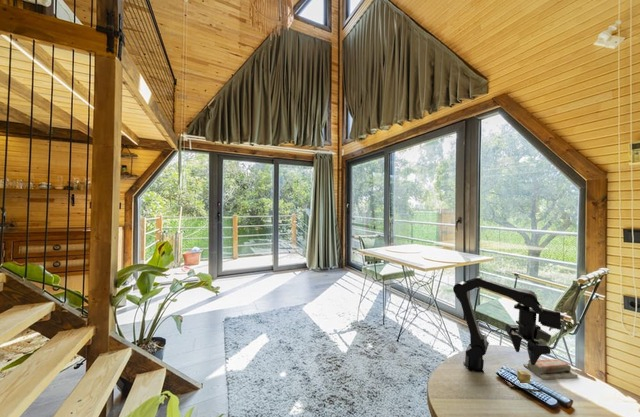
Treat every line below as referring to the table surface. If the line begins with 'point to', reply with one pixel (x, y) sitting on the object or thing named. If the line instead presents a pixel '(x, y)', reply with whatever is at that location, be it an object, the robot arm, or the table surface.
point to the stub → (521, 377)
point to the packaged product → (551, 369)
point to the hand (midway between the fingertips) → (524, 358)
